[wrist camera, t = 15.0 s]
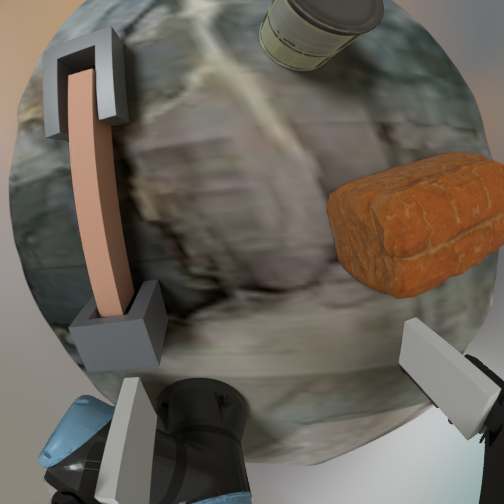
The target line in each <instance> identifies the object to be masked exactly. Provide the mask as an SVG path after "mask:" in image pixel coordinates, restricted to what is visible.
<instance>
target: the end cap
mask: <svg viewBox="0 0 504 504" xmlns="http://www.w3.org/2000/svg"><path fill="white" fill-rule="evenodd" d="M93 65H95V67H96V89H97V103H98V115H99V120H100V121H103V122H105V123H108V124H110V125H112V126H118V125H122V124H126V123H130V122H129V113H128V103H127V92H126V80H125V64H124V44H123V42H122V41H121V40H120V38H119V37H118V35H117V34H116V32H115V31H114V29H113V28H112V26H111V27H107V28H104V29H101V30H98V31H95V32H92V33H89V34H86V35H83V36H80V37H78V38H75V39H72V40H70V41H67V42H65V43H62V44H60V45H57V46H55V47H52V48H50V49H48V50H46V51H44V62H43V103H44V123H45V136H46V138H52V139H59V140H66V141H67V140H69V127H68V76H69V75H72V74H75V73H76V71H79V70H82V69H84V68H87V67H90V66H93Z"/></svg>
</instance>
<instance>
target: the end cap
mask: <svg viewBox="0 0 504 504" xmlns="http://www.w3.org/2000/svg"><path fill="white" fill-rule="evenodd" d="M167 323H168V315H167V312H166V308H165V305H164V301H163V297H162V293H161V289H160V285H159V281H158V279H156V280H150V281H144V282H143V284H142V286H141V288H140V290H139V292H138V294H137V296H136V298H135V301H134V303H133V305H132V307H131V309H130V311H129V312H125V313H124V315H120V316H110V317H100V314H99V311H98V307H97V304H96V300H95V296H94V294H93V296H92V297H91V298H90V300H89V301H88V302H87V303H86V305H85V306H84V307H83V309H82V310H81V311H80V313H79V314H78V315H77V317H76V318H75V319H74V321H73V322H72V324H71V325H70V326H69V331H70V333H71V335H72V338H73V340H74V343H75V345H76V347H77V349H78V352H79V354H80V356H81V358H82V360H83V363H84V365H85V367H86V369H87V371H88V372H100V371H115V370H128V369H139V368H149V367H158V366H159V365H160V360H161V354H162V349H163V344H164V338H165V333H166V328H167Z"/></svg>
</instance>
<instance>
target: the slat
mask: <svg viewBox="0 0 504 504" xmlns="http://www.w3.org/2000/svg"><path fill="white" fill-rule="evenodd" d="M68 127H69V147H70V160H71V171H72V180H73V189H74V197H75V204H76V211H77V217H78V223H79V229H80V234H81V240H82V245H83V250H84V255H85V259H86V264H87V268H88V272H89V277H90V281H91V285H92V289H93V292H94V296H95V300H96V304H97V307H98V311H99V314H100V317H110V316H120V315H124V313H125V311H126V309H127V307H128V305H129V303H130V301H131V299H132V297H133V295H134V293H135V292H134V287H133V283H132V278H131V273H130V268H129V263H128V258H127V253H126V247H125V242H124V236H123V230H122V224H121V217H120V210H119V203H118V195H117V187H116V178H115V169H114V158H113V145H112V130H111V125H110V124H108V123H105V122H103V121H100V120H99V115H98V103H97V89H96V71H95V70H94V69H89V70H85V71H82V72H78V73H75V74H72V75H69V76H68Z"/></svg>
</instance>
